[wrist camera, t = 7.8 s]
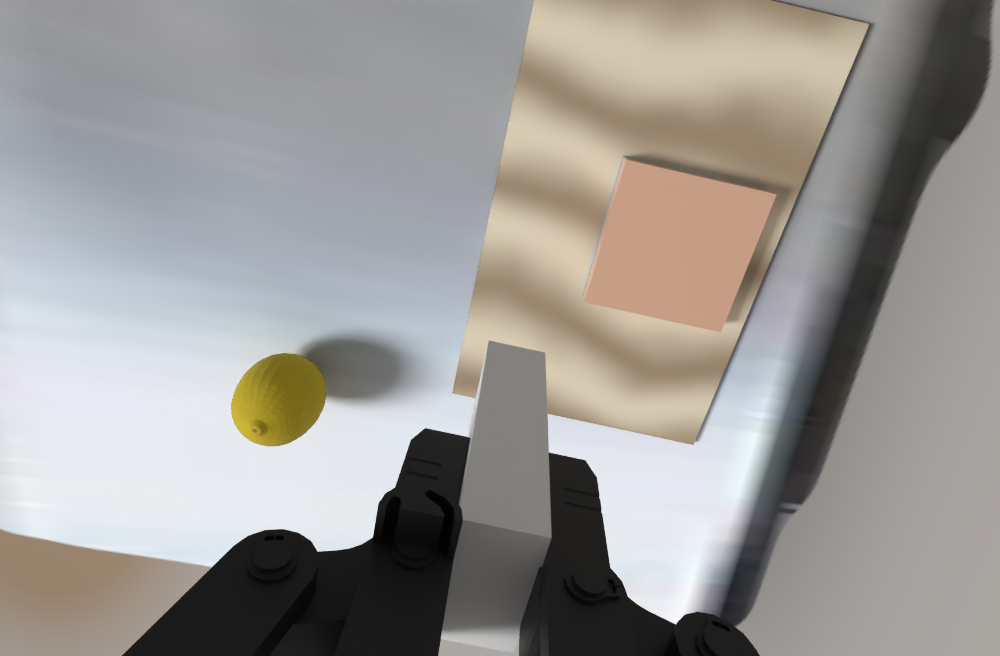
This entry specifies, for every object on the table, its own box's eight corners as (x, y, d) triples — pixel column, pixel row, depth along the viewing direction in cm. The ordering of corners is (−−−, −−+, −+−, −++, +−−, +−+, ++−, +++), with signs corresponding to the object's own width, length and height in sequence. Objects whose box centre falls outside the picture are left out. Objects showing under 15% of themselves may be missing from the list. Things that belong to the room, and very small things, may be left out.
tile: (626, 159, 34) (776, 194, 34) (622, 156, 35) (766, 189, 36) (584, 302, 38) (721, 332, 38) (582, 293, 39) (714, 322, 39)
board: (545, -53, 32) (545, -55, 31) (865, 24, 32) (869, 24, 32) (453, 390, 43) (452, 393, 43) (692, 441, 44) (693, 444, 43)
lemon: (345, 346, 42) (305, 404, 35) (334, 410, 44) (294, 478, 37) (268, 327, 42) (211, 381, 34) (261, 392, 44) (206, 456, 37)
